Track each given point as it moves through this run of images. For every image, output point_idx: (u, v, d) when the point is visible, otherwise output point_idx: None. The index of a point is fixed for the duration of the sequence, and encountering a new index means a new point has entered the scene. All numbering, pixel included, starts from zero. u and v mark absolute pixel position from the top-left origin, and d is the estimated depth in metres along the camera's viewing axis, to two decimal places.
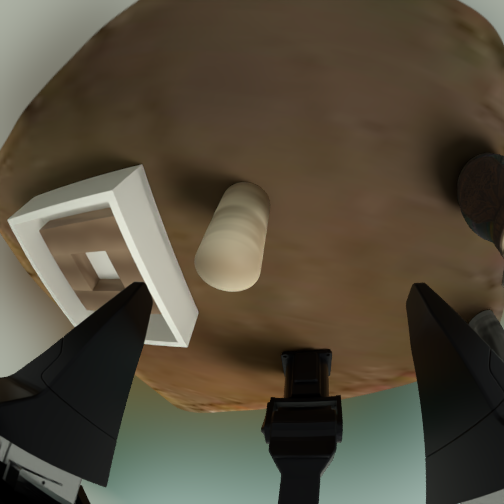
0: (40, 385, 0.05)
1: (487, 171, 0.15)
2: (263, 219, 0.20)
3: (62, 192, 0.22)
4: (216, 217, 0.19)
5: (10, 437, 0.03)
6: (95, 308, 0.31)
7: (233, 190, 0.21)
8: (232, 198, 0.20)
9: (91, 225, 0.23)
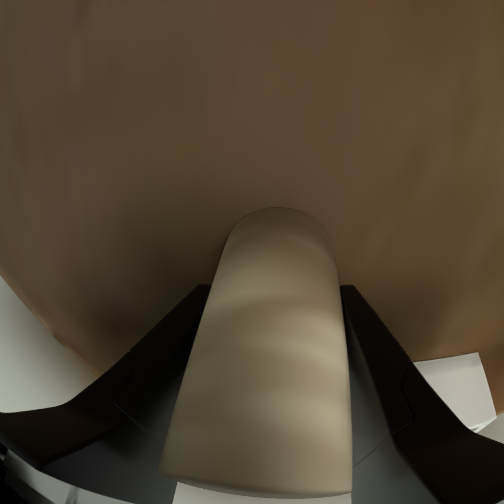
0: (115, 415, 0.05)
1: None
2: (241, 289, 0.07)
3: None
4: None
5: (85, 484, 0.03)
6: None
7: None
8: None
9: None
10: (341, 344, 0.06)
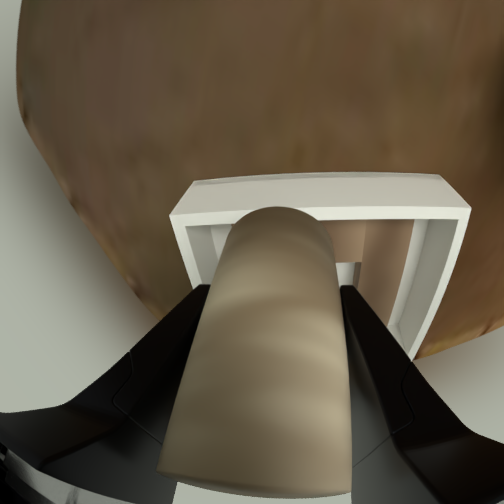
0: (115, 415, 0.05)
1: None
2: (240, 288, 0.07)
3: None
4: None
5: (85, 484, 0.03)
6: (384, 321, 0.22)
7: None
8: None
9: None
10: (340, 343, 0.06)
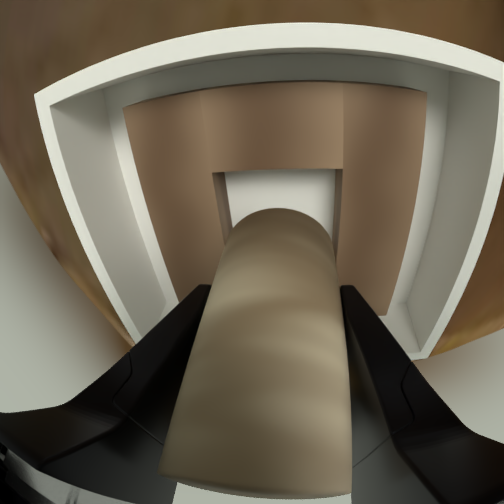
0: (115, 414, 0.05)
1: None
2: (241, 290, 0.07)
3: None
4: None
5: (85, 484, 0.03)
6: (386, 291, 0.14)
7: None
8: None
9: (150, 182, 0.12)
10: (341, 345, 0.06)
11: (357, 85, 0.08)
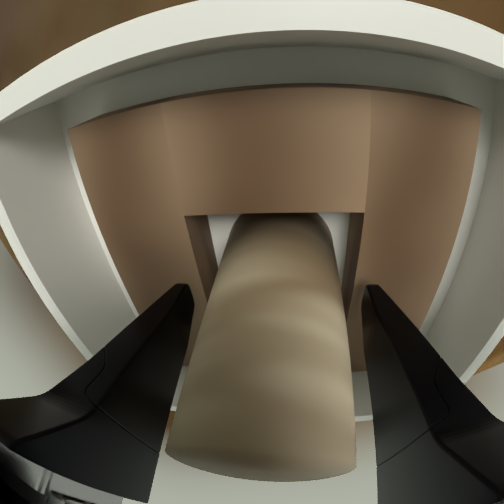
0: (86, 404, 0.05)
1: None
2: (246, 273, 0.07)
3: None
4: None
5: (55, 468, 0.03)
6: None
7: None
8: None
9: (109, 225, 0.09)
10: (341, 324, 0.07)
11: (391, 94, 0.06)
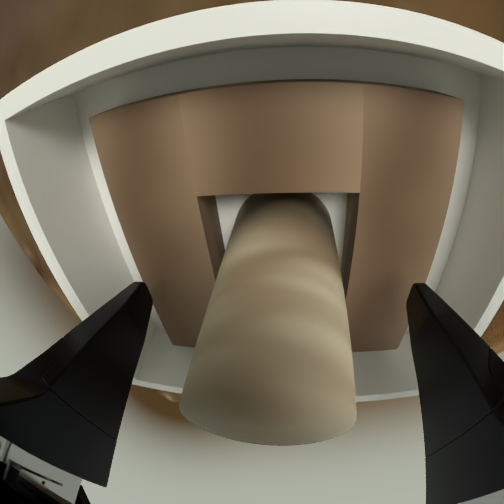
0: (40, 385, 0.05)
1: None
2: (254, 244, 0.08)
3: None
4: None
5: (10, 437, 0.03)
6: (400, 326, 0.12)
7: None
8: None
9: (125, 207, 0.10)
10: (339, 290, 0.07)
11: (381, 87, 0.06)
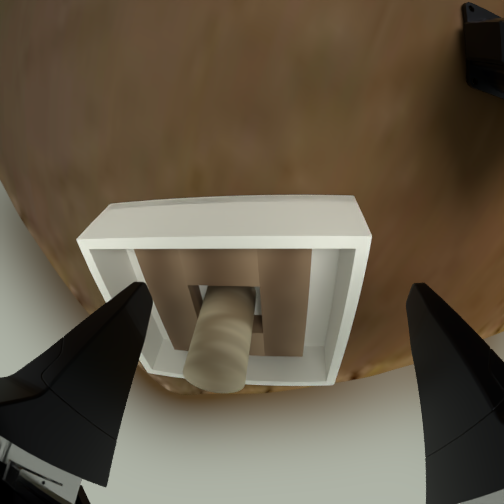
0: (40, 385, 0.05)
1: None
2: (211, 310, 0.19)
3: None
4: None
5: (10, 437, 0.03)
6: (299, 344, 0.23)
7: None
8: None
9: (153, 285, 0.21)
10: (244, 330, 0.19)
11: None
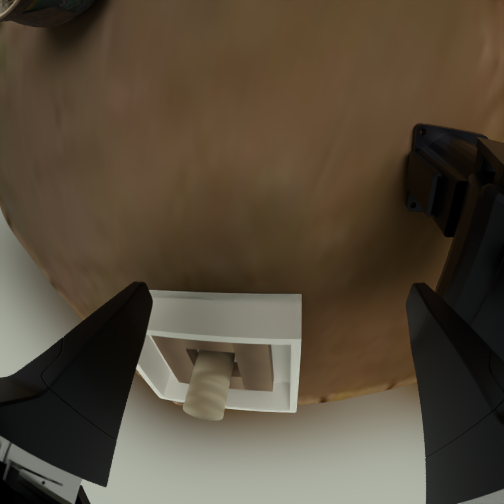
0: (40, 386, 0.05)
1: (24, 24, 0.09)
2: (201, 368, 0.27)
3: None
4: None
5: (10, 437, 0.03)
6: (268, 384, 0.31)
7: None
8: None
9: (161, 346, 0.29)
10: (223, 382, 0.26)
11: None
